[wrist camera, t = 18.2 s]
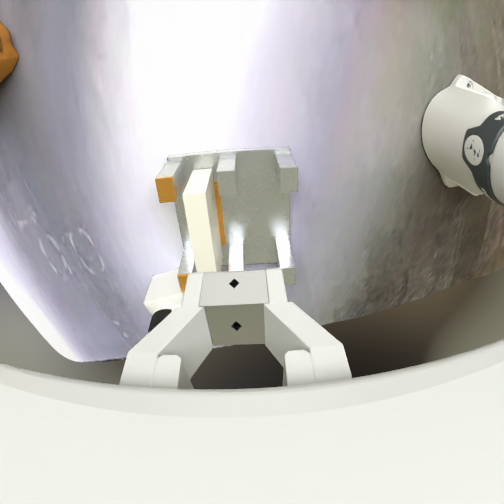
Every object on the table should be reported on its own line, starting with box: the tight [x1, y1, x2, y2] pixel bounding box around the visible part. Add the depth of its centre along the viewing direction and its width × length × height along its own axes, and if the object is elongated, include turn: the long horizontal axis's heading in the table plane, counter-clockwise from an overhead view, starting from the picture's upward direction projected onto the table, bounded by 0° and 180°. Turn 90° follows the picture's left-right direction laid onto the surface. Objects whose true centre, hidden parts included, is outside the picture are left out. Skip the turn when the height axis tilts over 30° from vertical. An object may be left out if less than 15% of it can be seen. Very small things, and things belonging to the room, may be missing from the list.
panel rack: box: [155, 146, 298, 292], centre depth 40 cm, size 16×18×8 cm
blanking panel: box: [182, 168, 223, 272], centre depth 38 cm, size 2×14×8 cm, turn 3°
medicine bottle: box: [144, 268, 184, 333], centre depth 46 cm, size 7×7×12 cm
